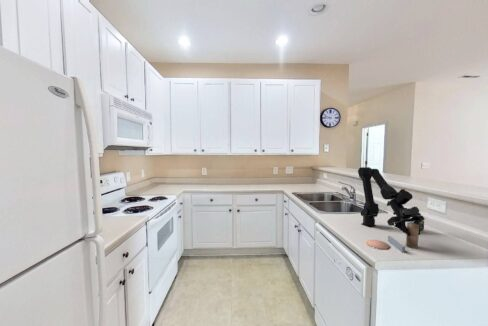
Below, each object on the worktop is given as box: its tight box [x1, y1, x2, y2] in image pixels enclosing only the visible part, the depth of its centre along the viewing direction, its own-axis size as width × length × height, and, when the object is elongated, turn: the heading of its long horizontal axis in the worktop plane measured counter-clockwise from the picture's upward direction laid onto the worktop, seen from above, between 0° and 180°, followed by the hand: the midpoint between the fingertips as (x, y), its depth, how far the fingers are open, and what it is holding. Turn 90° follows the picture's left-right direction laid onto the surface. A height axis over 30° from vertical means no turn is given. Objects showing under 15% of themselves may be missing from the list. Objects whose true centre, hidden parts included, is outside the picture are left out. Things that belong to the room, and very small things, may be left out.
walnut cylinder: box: [405, 223, 419, 249], centre depth 122 cm, size 5×5×12 cm
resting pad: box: [365, 239, 390, 250], centre depth 124 cm, size 11×11×1 cm
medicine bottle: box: [405, 211, 425, 233], centre depth 146 cm, size 7×7×12 cm
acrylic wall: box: [387, 235, 406, 253], centre depth 122 cm, size 14×1×3 cm, turn 174°
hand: (414, 235), depth 121 cm, fingers open, 6 cm apart
